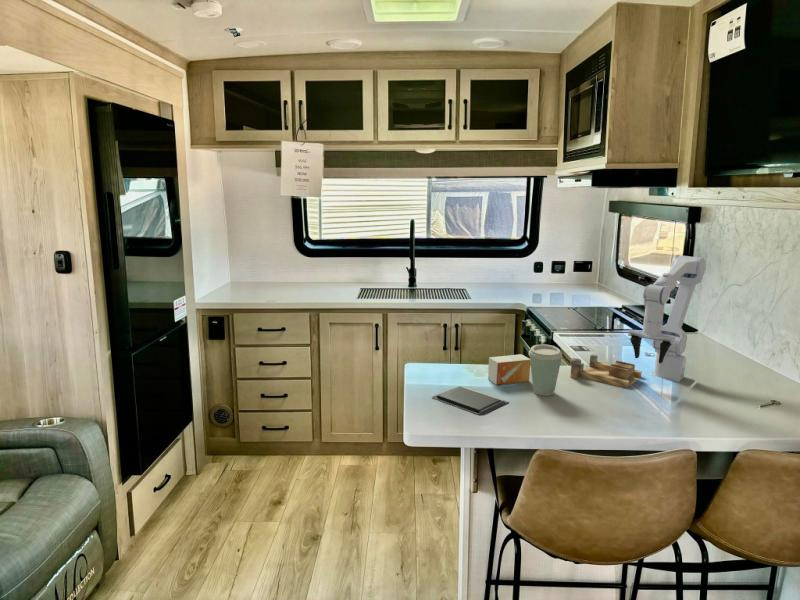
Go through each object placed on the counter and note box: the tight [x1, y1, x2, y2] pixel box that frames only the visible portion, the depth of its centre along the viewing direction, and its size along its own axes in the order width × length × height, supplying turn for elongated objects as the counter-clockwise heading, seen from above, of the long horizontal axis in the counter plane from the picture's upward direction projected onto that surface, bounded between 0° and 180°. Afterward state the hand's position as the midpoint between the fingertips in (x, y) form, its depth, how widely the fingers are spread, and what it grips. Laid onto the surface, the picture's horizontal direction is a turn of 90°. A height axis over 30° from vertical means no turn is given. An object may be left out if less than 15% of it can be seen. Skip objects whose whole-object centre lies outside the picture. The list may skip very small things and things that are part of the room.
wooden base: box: [569, 354, 642, 389], centre depth 201 cm, size 19×19×7 cm
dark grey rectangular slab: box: [431, 386, 510, 416], centre depth 179 cm, size 20×2×15 cm
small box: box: [487, 353, 531, 386], centre depth 197 cm, size 8×6×13 cm
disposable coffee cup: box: [528, 343, 563, 397], centre depth 186 cm, size 11×11×15 cm
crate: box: [609, 360, 636, 381], centre depth 199 cm, size 6×8×5 cm
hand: (648, 360), depth 193 cm, fingers open, 7 cm apart
